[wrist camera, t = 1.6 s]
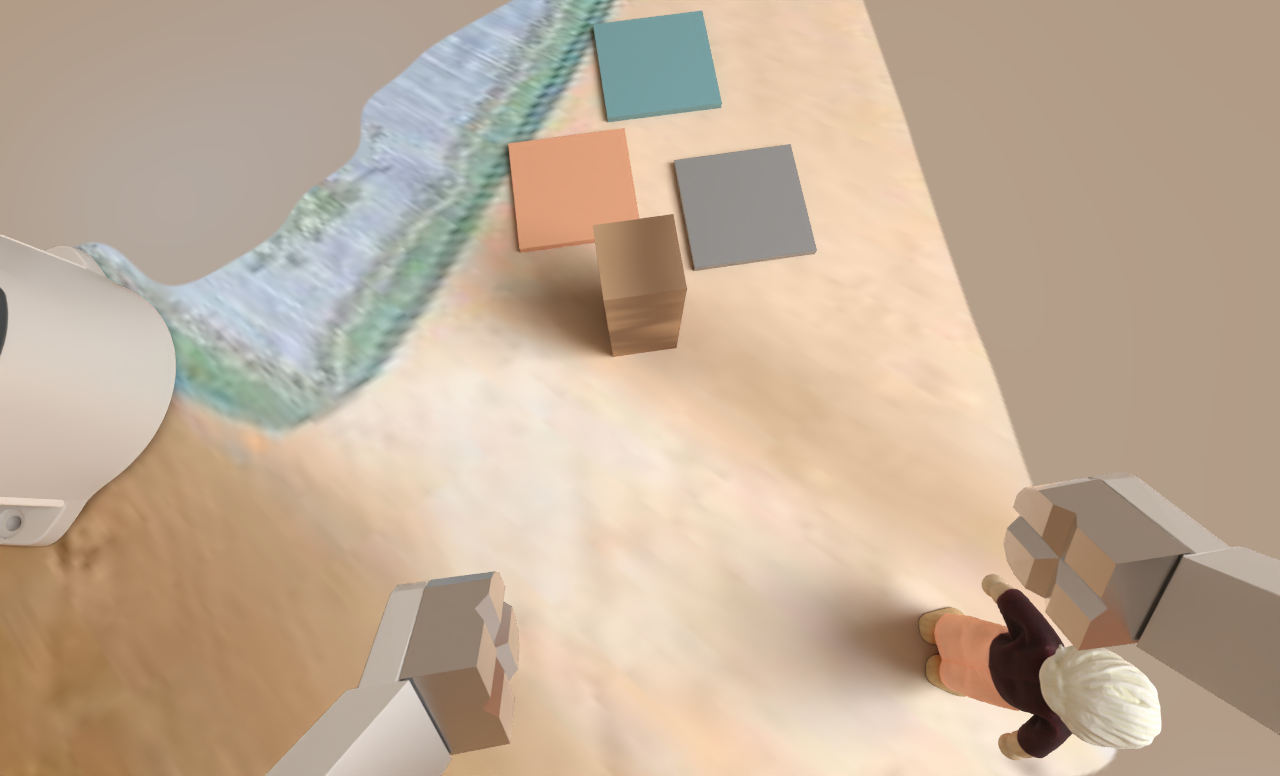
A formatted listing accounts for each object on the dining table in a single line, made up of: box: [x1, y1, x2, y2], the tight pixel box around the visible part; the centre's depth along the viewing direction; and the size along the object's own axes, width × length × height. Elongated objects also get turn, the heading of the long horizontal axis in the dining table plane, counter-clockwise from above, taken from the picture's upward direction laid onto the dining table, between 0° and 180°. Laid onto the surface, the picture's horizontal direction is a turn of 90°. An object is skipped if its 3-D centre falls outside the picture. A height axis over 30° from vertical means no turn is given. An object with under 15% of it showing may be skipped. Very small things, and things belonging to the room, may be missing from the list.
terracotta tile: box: [508, 128, 639, 252], centre depth 39 cm, size 8×8×1 cm
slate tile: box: [674, 144, 817, 271], centre depth 38 cm, size 8×8×1 cm
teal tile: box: [593, 11, 722, 122], centre depth 41 cm, size 8×8×1 cm
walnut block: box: [593, 214, 687, 357], centre depth 32 cm, size 4×4×9 cm
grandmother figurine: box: [919, 574, 1161, 760], centre depth 26 cm, size 8×4×13 cm, turn 11°
